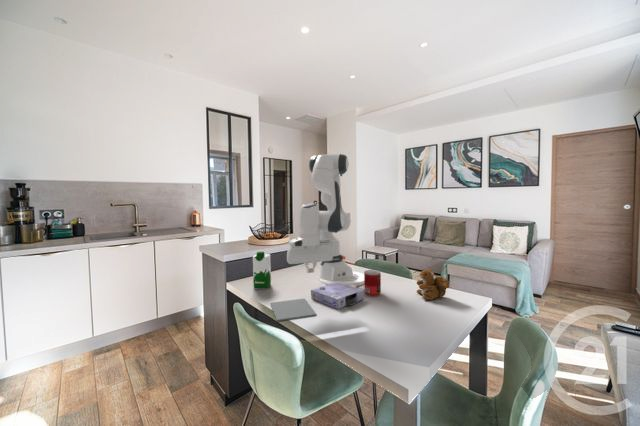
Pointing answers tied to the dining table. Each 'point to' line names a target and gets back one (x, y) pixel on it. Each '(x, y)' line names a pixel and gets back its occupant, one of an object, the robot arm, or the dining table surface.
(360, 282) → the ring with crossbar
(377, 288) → the canned food
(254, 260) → the milk carton
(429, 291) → the stuffed squirrel
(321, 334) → the dining table surface
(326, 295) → the cake pan box
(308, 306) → the mat
